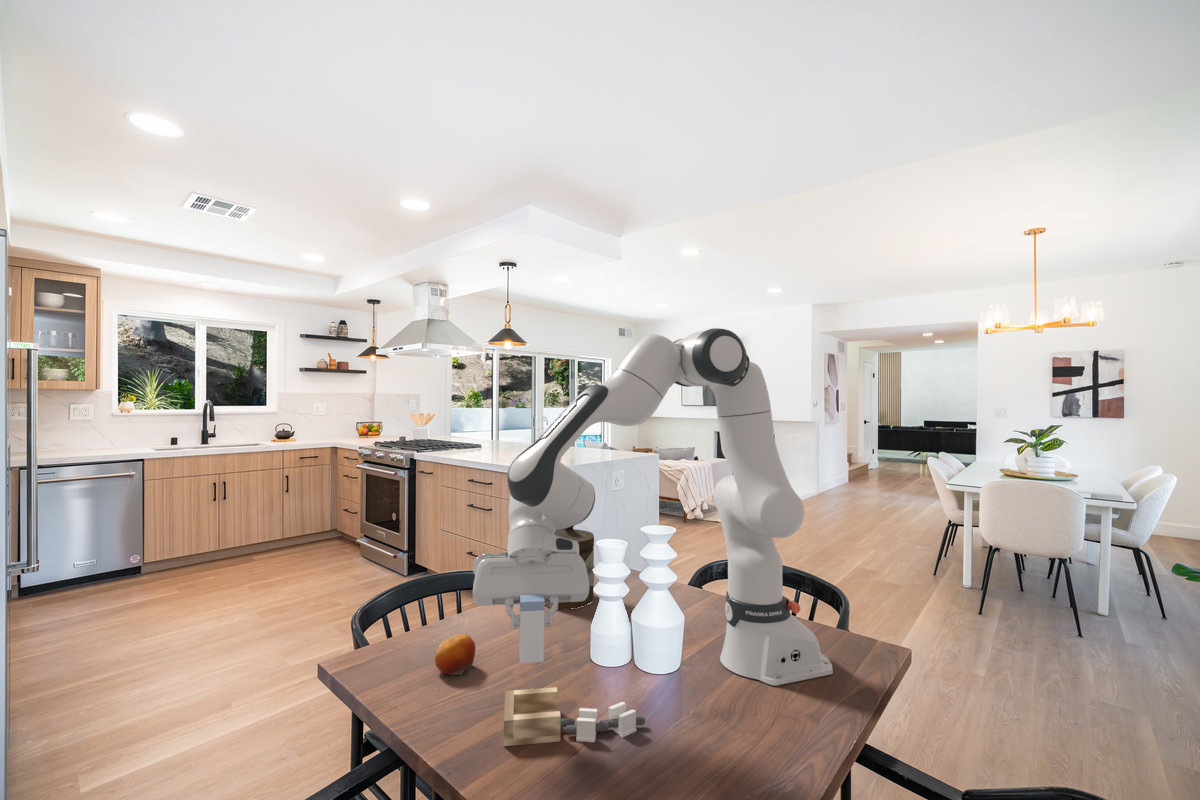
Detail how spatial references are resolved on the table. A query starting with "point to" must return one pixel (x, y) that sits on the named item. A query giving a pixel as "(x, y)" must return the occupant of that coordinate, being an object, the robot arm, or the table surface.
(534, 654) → the block
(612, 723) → the cable
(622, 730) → the clip
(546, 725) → the end holder
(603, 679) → the table surface
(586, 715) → the clip
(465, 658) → the fruit
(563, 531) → the wooden container
